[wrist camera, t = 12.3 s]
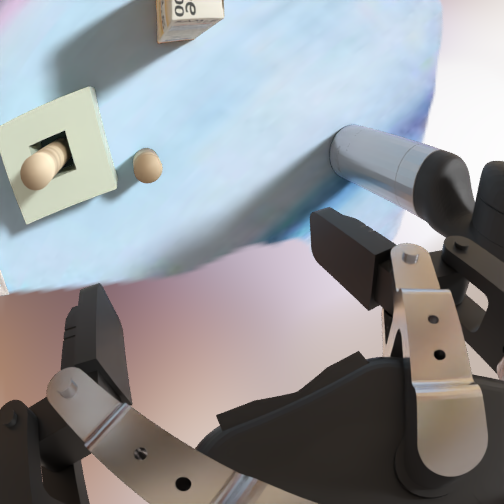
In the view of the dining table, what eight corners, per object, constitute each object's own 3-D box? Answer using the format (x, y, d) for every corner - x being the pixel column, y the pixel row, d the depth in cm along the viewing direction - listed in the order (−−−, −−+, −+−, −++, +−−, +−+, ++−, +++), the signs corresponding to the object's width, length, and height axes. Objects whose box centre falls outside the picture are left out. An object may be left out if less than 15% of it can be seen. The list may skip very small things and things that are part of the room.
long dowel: (69, 133, 31) (45, 149, 21) (75, 157, 32) (56, 182, 23) (46, 143, 30) (15, 163, 20) (53, 166, 32) (27, 195, 22)
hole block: (94, 87, 29) (89, 86, 25) (117, 177, 36) (116, 188, 32) (8, 124, 26) (-7, 129, 22) (36, 209, 33) (26, 224, 29)
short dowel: (154, 145, 36) (158, 151, 32) (160, 168, 37) (165, 178, 33) (130, 152, 35) (130, 160, 31) (136, 176, 37) (138, 186, 33)
